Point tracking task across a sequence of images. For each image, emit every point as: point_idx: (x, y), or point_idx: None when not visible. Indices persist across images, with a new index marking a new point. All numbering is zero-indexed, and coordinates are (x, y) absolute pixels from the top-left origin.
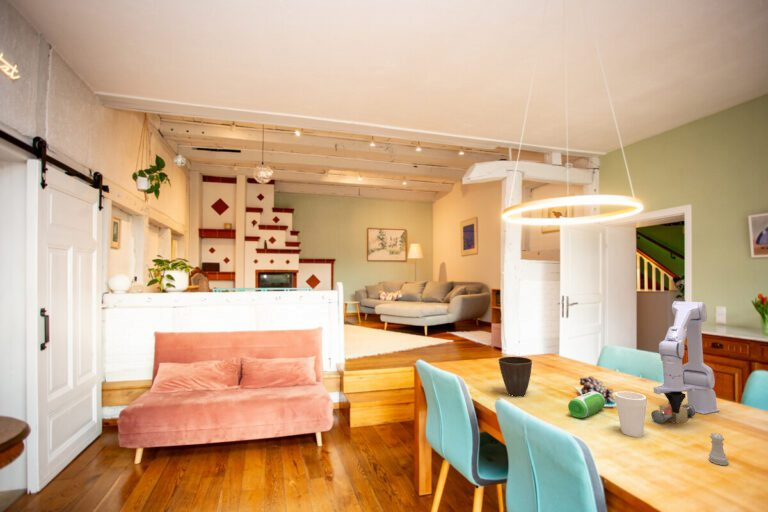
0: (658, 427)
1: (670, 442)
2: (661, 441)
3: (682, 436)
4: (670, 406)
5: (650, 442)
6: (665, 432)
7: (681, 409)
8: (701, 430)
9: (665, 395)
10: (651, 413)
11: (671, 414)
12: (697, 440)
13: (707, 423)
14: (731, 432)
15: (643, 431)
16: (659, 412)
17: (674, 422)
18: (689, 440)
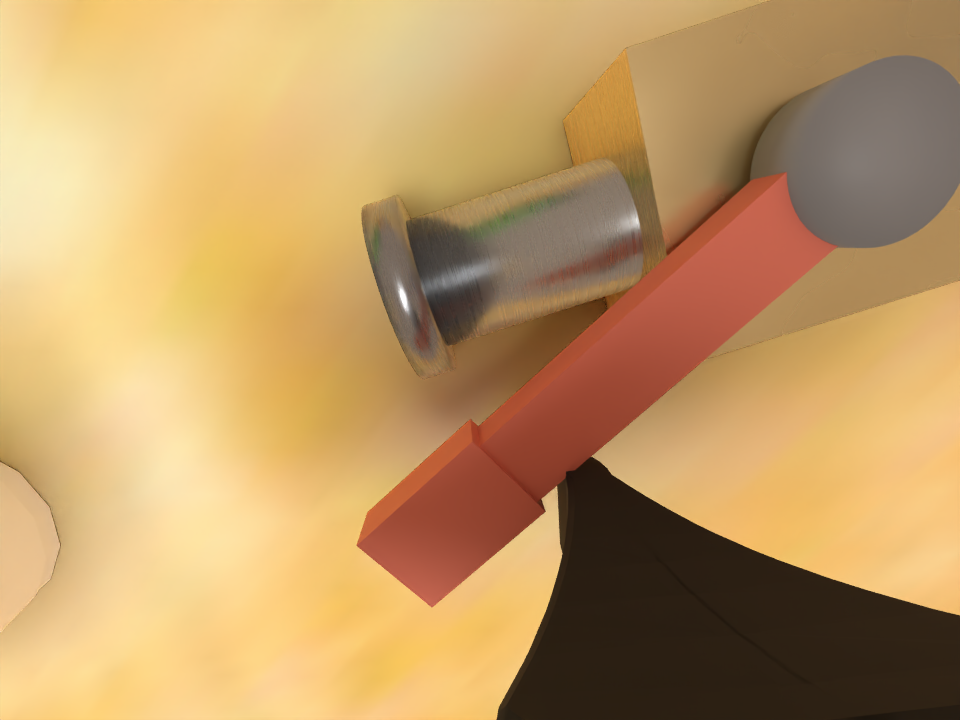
0: (331, 409)
1: (222, 713)
2: (154, 696)
3: (415, 616)
4: (648, 352)
5: (42, 710)
6: (319, 531)
7: (829, 318)
8: (704, 506)
9: (520, 678)
10: (362, 210)
11: (630, 287)
12: (480, 686)
13: (939, 346)
14: (917, 559)
15: (15, 616)
16: (404, 348)
17: (607, 305)
18: (413, 685)
